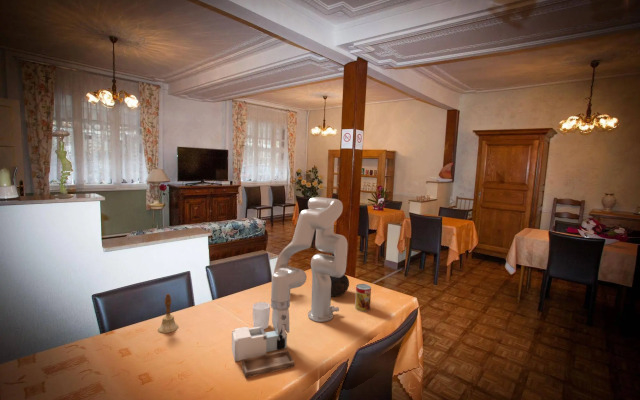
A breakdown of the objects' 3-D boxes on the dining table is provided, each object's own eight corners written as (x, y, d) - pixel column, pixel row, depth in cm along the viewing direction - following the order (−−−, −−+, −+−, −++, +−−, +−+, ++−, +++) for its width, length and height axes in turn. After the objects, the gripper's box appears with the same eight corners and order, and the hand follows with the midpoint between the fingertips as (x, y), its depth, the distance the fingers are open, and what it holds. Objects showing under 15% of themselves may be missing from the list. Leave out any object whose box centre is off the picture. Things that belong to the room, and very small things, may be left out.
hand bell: (182, 326, 141) (182, 292, 140) (166, 335, 134) (166, 299, 132) (169, 322, 145) (169, 288, 143) (153, 330, 137) (152, 295, 135)
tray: (287, 354, 123) (287, 349, 123) (294, 366, 116) (294, 361, 116) (241, 364, 116) (241, 359, 116) (245, 377, 109) (245, 372, 108)
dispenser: (261, 344, 129) (262, 324, 128) (266, 355, 122) (266, 333, 121) (231, 350, 125) (232, 329, 124) (234, 361, 117) (235, 339, 116)
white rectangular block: (283, 342, 131) (284, 329, 130) (286, 348, 127) (286, 334, 127) (250, 349, 125) (250, 335, 125) (252, 354, 122) (252, 340, 121)
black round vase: (320, 286, 195) (322, 242, 192) (349, 288, 193) (351, 244, 190) (316, 297, 178) (318, 249, 175) (347, 300, 175) (350, 252, 172)
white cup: (265, 331, 139) (266, 310, 138) (249, 329, 141) (249, 308, 140) (272, 323, 147) (272, 303, 146) (256, 321, 148) (256, 301, 147)
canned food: (368, 312, 162) (369, 290, 160) (353, 309, 164) (354, 287, 163) (371, 306, 169) (372, 285, 168) (356, 303, 172) (357, 282, 170)
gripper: (295, 310, 120) (294, 355, 122) (283, 293, 135) (282, 333, 137) (277, 313, 117) (275, 359, 119) (266, 295, 132) (265, 336, 134)
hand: (279, 345), depth 128 cm, fingers closed on white rectangular block, 4 cm apart
